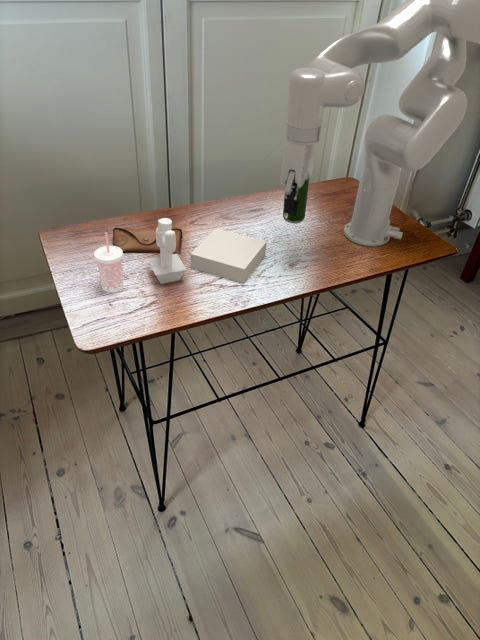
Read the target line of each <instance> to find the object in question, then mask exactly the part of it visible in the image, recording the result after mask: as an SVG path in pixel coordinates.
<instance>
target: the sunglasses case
mask: <svg viewBox="0 0 480 640" xmlns="http://www.w3.org/2000/svg"><path fill="white" fill-rule="evenodd" d="M156 229H157V228H152V227H151V228H147V227H146V228H141V227H139V228H122V227H114V228H113V230H112V239H113V240H112V246H117V247H119V248H121V249H122V250H123V254H160V247H158V246H157V244H156ZM171 230H172V231H174V232H175V235H176V249H175V251H174V252H173V253H172V254H178V255H181V254H182V242H183V237H184V236H183V231H182V229H181V228H179V227H178V228H176V227H175V228H171Z"/></svg>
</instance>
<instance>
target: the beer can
mask: <svg viewBox="0 0 480 640" xmlns="http://www.w3.org/2000/svg"><path fill="white" fill-rule="evenodd" d="M310 178H311V175H309V173H308V174H307V177H306V179H305V182H304V185H303V186H302V187H300V189H299V194H298V199H299V204H298V213H297V215H291V214H287V213H284V205H283V207H282V208H283V209H282V217H283V221H284V222H286V223H288V224H300V223H302V222H303V221H304V220H305V218H306V210H307V204H308V203H307V202H308V194H309V187H310V186H309V185H310ZM286 184H287V182H286ZM286 184H285V185H284V188H285V187H286ZM293 185H296V186H297V184H296V183H294V184H293ZM292 191H294V193H295V191H296V189H294V188H292ZM284 203H285V194H284V198H283V204H284Z"/></svg>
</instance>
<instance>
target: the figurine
mask: <svg viewBox="0 0 480 640" xmlns="http://www.w3.org/2000/svg"><path fill="white" fill-rule="evenodd" d="M172 226H173V221H172V219H170V218H168V217H162V218H158V220H157V227H156V228H155V229H156V244H157V246H158V247H160V253H159V255H160V256H155V257H150V258H147V261H148V263H149V264H150V267H151V269H152V271H153V273H154V275H155V277H156V279H157V280H158V281H159V283H160V285H162V284H169V283H173V282H178V281H180V280H181V278H182V277H183V275H184V274H185V272H186V271H187V268H186V266H185V264H184V263H183V260H181V258H180V256H179V254H172V253H173V252H174V251H175V249H176V235H175V232H174V231H172V230H171V229H173V227H172Z"/></svg>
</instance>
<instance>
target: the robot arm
mask: <svg viewBox="0 0 480 640" xmlns="http://www.w3.org/2000/svg"><path fill="white" fill-rule="evenodd" d="M435 32H436V39H435V45H434V48H433V51H432V53H431V54H430V56H429V57H428V59H427V60H426V62H425V63H424V64H423V65H422V67H421V68H420V70H419V71H418V72H416V73H417V74H416V75H414V77H413V78H412V80H411V81H410V82H409V83H408V85H407V86H406V88H405V89H404V91H403V92H402V93H401V95H400V97H399V100H398V108H399V111H400V112H401V114H403V115H404V116H405V117H406V118H409V119H410V120H412V121H414V122H417V123H419V124H420V125H419V126H417V125H415V124H413V123H412V122H409V121H407V120H405V119H402V118H400V117H398V116H396V115H391V114H382V115H378V116H377V117H376V118H375V117H374V119H373V120H372V121H371V122H370V123H369V125H368V127H367V128H366V132H365V135H364V156H363V164H362V171H361V175H360V180H359V184H358V189H357V193H356V194H357V195H356V198H355V203H354V209H353V212H352V217H351V220H350V221H349V222H348V223H346V224H345V225H344V227H343V234H344V237H346V238H347V239H348V240H350V242H353V243H354V244H355V243H356V244H357V245H361V246H366V247H380V246H383V245H385V244H387V243H388V242H389V241H390V239H391V238H393V239H397V240H402V237H403V233H404V232H403V231H401V230H400V228H399V227H395V226H392V225H390V224H391V220H390V215H391V212H392V209H393V205H394V201H395V197H396V194H397V188H398V186H399V183H400V179H401V178H400V177H401V169H402V170H405V171H407V172H417V171H419V170H421V169H423V168H424V167H425V166H426V165H427V164H428V163H429V162H430V161H431V160H432V159H433V158H434V157H435V155H436V154H437V153H438V152H439V150H440V149H441V148H442V146H444V144H445V143H446V142H447V141H448V140H449V138H450V137H451V136H452V135H453V134H454V132H455V131H456V130H457V129H458V127H459V126H460V125H461V123H462V121H463V119H464V117H465V115H466V112H467V109H468V98H467V96H466V94H465V92H464V91H463V90H461V88H458V87H456V86H454V85H455V84H456V83H458V82H457V81H459V79H460V77H461V76H462V75H463V73H464V71H465V69H466V64H467V58H468V57H467V56H468V55H467V42H471V43H476V44H479V45H480V0H405V1H404V2H402V3H401V4H400V5H399V6H397V7H396V8H395V9H394V10H393V11H391V12H390V13H389V14H388V15H386V16H385V17H384V18H383V19H381V20H380V21H379V22H377V23H376V24H373V25H369V26H367V27H365V28H362V29H360V30H357V31H355V32H352V33H350V34H347V35H345V36H343V37H341V38H339V39H336V41H334V42H333V43H331V44H329V46H328V47H326V48H325V49H324V50H322V51H321V52H320V53H319V54H318V55H317V56H315V58H314V59H312V61H311V62H310V64H309V65H308V67H299V68H296V69H294V70H293V71H292V72H291V74H290V78H289V85H288V86H289V87H288V89H289V90H288V99H287V100H288V101H287V111H286V121H285V133H284V139H285V141H286V143H285V147H284V153H283V158H282V165H281V173H280V174H281V175H280V179H279V181H280V182H279V183H280V185H281V186H284V195H285V203H284V202H283V206H284V213H287V214H291V215H297V213H298V204H299V199H298V194H299V189H300V187H302V186H303V185H304V182H305V179H306V177H307V174H308V173H309V175H310V176H312V173H313V169H314V164H315V163H314V162H315V155H316V154H315V153H316V145H317V143H319V142H320V139H321V132H322V124H323V116H324V109H325V108H342V109H343V108H349V107H352V106H354V105H356V104H357V103H358V102H359V101H360V99H362V97H363V95H364V93H365V90H366V89H365V88H366V82H365V80H364V78H363V76H362V74H360V73H359V71H357V70H355V69H354V68H357V67H360V66H363V65H369V64H384V63H389V62H390V63H391V62H395V61H397V60H400V59H402V58H403V57H404V56H406V55H407V54H408V53H409V52H410V51H411V50H412V49H414V48H415V47H416V46H418V44H420V43H421V42H423V41H424V40H425V39H426V38H427V37H429V35H431V34H432V33H435ZM286 182H287V184H286ZM294 183H296V184H297V186H296V185H293V184H294ZM285 184H286V187H285ZM292 188H294V189H296V191H295V193H294V191H292Z"/></svg>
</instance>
